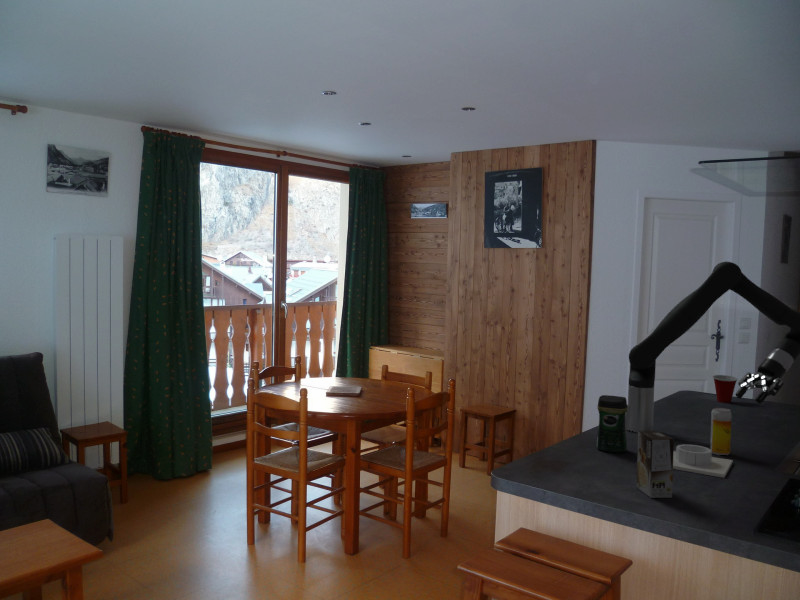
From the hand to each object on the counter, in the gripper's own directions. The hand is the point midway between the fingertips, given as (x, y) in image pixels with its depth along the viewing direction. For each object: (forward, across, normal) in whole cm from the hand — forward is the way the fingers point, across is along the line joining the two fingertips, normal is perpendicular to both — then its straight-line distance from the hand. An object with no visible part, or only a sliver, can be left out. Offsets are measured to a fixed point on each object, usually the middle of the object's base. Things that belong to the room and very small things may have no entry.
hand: (747, 399), depth 217 cm
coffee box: (+54, +28, -28) cm, 66 cm away
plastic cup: (-28, -73, +54) cm, 96 cm away
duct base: (+33, +8, -7) cm, 34 cm away
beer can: (+20, 0, +6) cm, 21 cm away
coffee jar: (+44, -12, -18) cm, 49 cm away
